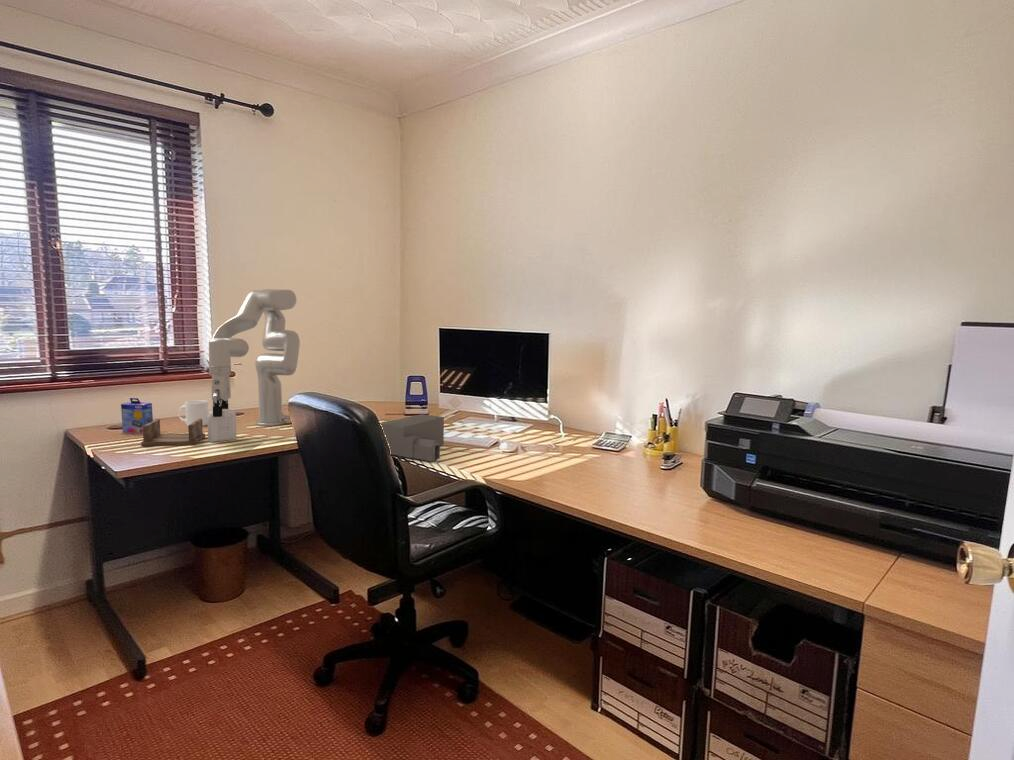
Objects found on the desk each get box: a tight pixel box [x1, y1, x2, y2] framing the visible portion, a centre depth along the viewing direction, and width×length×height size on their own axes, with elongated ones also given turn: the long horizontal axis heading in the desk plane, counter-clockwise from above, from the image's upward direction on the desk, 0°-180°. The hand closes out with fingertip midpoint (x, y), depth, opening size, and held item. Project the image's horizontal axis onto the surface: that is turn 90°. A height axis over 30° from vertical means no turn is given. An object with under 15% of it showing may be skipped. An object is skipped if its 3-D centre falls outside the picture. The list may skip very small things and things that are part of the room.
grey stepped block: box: [381, 413, 445, 462], centre depth 218 cm, size 25×23×11 cm
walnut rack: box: [140, 418, 206, 447], centre depth 220 cm, size 14×18×8 cm
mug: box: [177, 399, 209, 427], centre depth 249 cm, size 9×12×11 cm
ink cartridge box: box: [120, 397, 154, 434], centre depth 233 cm, size 10×6×14 cm, turn 87°
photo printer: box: [207, 408, 237, 443], centre depth 224 cm, size 10×4×12 cm, turn 134°
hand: (220, 414), depth 223 cm, fingers open, 9 cm apart
